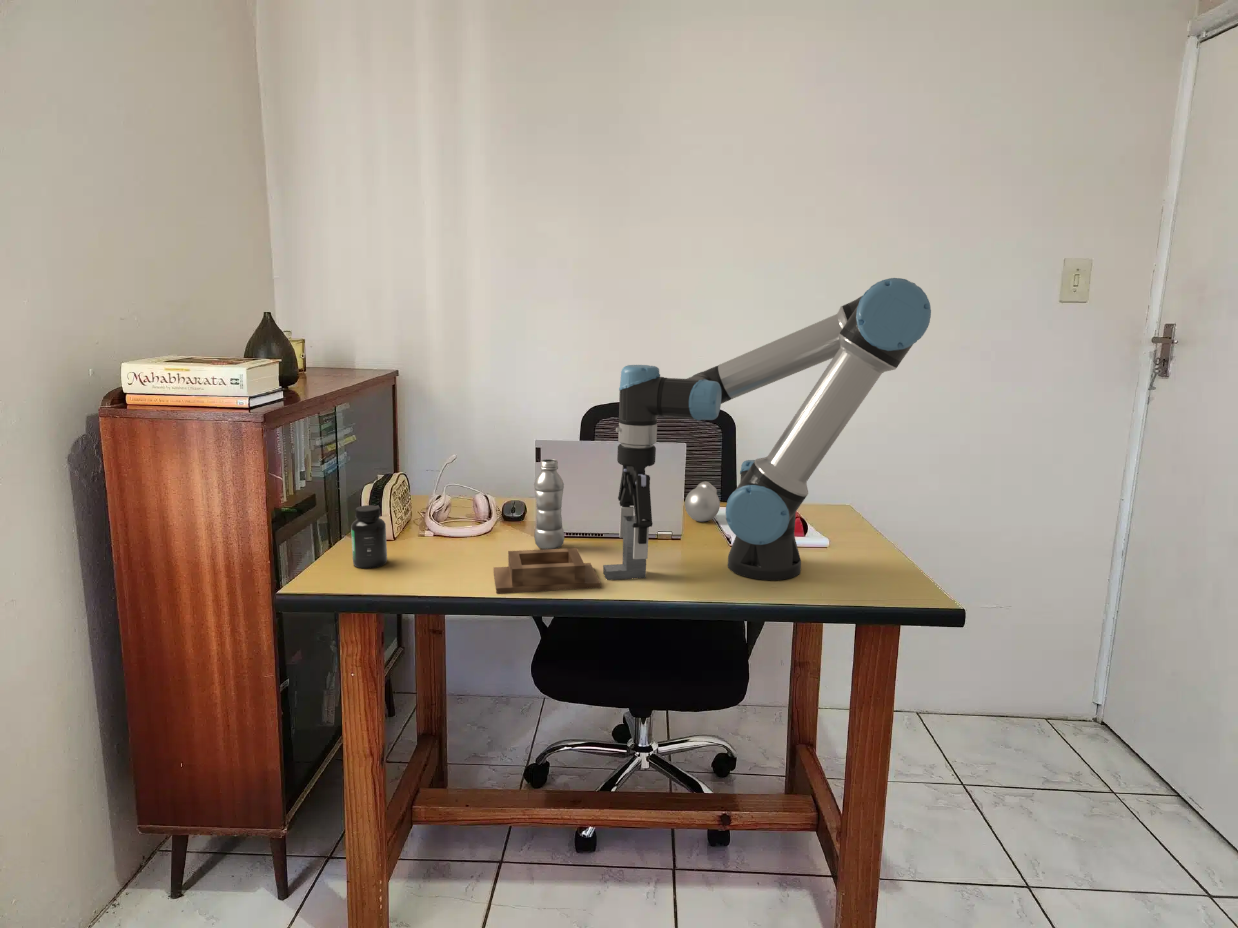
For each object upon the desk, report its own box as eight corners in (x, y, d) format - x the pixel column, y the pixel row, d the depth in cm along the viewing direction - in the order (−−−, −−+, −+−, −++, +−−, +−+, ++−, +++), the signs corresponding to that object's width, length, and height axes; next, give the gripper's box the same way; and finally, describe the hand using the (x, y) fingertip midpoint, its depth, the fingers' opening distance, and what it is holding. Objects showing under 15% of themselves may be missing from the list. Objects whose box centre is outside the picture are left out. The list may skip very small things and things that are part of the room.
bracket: (641, 571, 165) (642, 515, 162) (645, 578, 161) (647, 520, 158) (603, 573, 163) (604, 516, 160) (606, 580, 159) (607, 522, 157)
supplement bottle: (349, 569, 163) (345, 512, 160) (358, 558, 169) (355, 503, 167) (383, 569, 163) (380, 512, 161) (390, 558, 170) (388, 503, 167)
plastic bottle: (559, 553, 175) (560, 464, 171) (530, 551, 176) (529, 462, 172) (567, 545, 181) (568, 458, 177) (539, 542, 182) (538, 457, 178)
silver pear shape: (728, 522, 202) (730, 484, 200) (698, 527, 197) (700, 488, 195) (705, 514, 209) (707, 477, 207) (676, 518, 204) (678, 480, 202)
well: (590, 567, 166) (590, 546, 165) (600, 587, 155) (600, 565, 154) (493, 571, 162) (493, 550, 162) (496, 593, 151) (496, 570, 150)
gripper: (606, 433, 168) (603, 529, 172) (631, 457, 144) (627, 568, 148) (641, 433, 169) (637, 528, 174) (671, 457, 145) (666, 567, 150)
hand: (632, 547), depth 161 cm, fingers open, 13 cm apart
